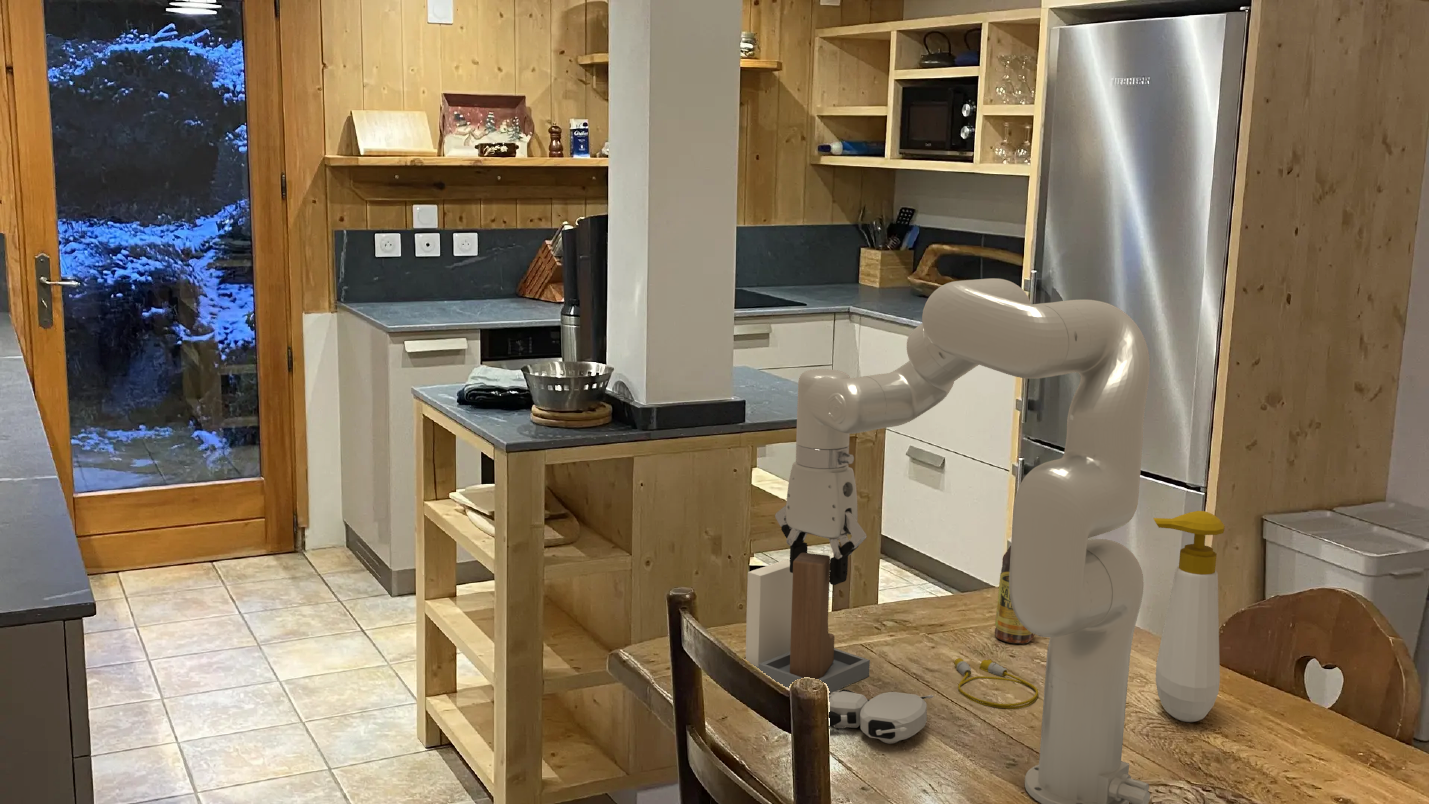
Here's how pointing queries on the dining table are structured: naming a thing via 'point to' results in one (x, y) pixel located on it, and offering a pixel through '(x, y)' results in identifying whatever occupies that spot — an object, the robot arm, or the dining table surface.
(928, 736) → the dining table surface
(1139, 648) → the dining table surface
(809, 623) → the wooden block
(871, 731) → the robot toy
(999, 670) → the extension cord
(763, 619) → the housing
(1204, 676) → the soap bottle
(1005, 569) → the sauce bottle
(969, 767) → the dining table surface
